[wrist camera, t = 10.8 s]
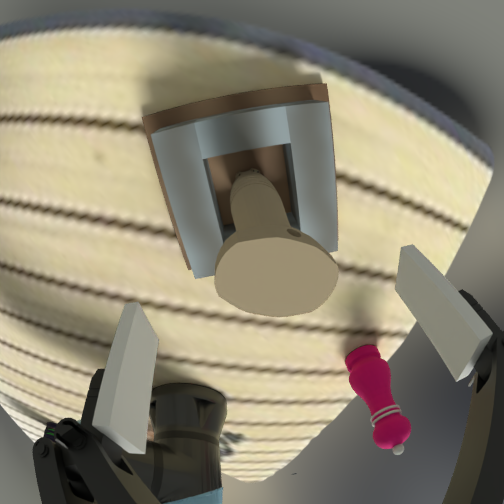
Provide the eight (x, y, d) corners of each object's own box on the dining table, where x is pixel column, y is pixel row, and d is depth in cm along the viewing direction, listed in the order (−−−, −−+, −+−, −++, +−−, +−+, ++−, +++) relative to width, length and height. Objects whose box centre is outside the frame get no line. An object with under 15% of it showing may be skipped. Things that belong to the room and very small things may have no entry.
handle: (224, 150, 25) (231, 224, 12) (289, 169, 27) (353, 256, 14) (209, 197, 27) (205, 305, 15) (271, 213, 29) (313, 322, 16)
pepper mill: (345, 347, 44) (385, 455, 27) (383, 338, 44) (430, 436, 27) (339, 371, 48) (371, 468, 31) (374, 362, 48) (412, 452, 31)
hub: (189, 264, 32) (185, 293, 28) (144, 116, 23) (128, 122, 19) (335, 236, 32) (351, 260, 28) (323, 83, 23) (343, 83, 19)
